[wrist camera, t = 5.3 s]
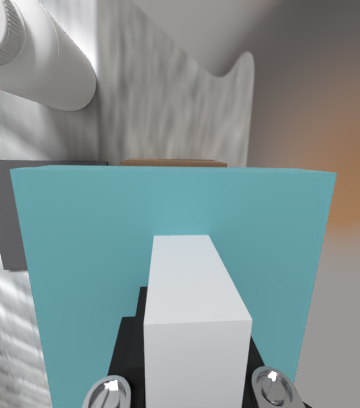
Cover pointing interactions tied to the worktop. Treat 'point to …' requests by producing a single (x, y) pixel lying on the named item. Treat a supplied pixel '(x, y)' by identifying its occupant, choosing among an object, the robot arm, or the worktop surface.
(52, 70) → the pill bottle
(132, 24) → the worktop surface
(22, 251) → the mat
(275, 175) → the lid
